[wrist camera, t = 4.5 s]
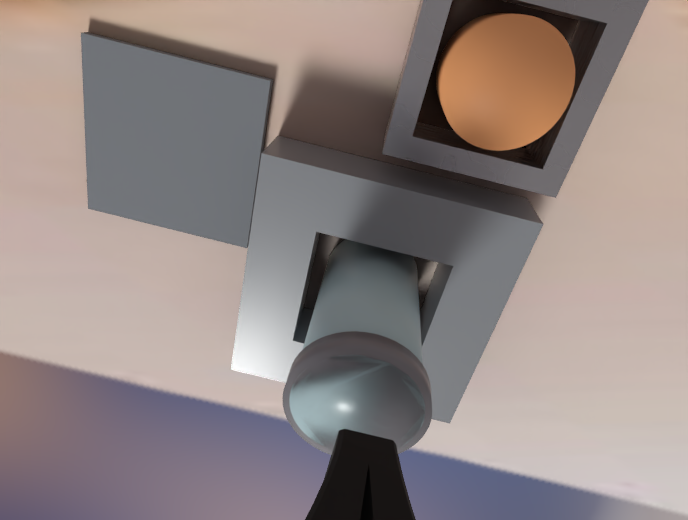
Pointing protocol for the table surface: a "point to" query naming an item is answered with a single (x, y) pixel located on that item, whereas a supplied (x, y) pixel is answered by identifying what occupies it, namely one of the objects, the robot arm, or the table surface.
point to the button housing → (550, 149)
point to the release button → (505, 80)
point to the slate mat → (172, 138)
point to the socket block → (384, 232)
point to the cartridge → (362, 353)
